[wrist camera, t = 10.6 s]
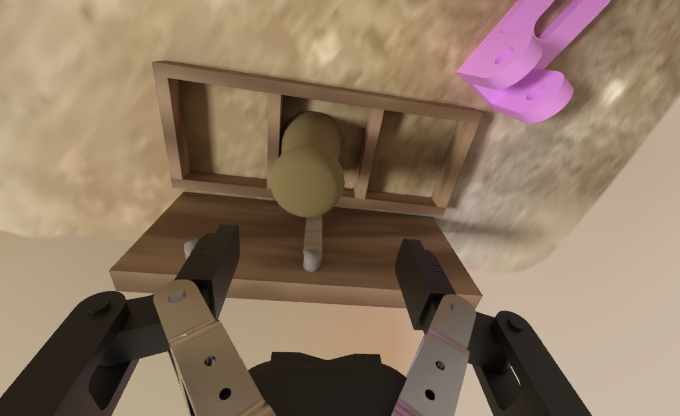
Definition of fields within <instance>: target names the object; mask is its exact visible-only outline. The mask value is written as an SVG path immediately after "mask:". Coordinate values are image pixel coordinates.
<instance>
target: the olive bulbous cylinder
mask: <svg viewBox="0 0 680 416" xmlns="http://www.w3.org/2000/svg"><path fill="white" fill-rule="evenodd" d="M341 148H342V136H341V132H340V130H339V128H338V126H337V124H336V123H335V122H334V121H333V120H332V119H331V118H330V117H328V116H326V115H324V114H322V113H319V112H313V111H309V112H302V113H300V114H298V115H296V116H294V117H292V118H291V120H290V121H289V122H288V123H287V124H286V126H285V128H284V130H283V133H282V155H281V156H280V157H279V158H278V159H277V160H276V162H275V164H274V167H273V169H272V171H271V178H270V185H271V189H272V193H273V196H274V198H275V199H276V201H277V202H278V204H279V205H280V206H281V207H282V208H284V209H285V210H286V211H288V212H289V213H292V214H294V215H297V216H300V217H308V218H309V217H315V216H320V215H322V214H324V213H327V212H329V211H330V210H331V209H332V208H333V207H334V206H336V205H337V203H338V201H339V200H340V198H341V196H342V194H343V189H344V184H345V181H344V174H343V169H342V167H341V165H340V163H339V158H340V153H341Z"/></svg>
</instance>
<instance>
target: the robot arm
mask: <svg viewBox="0 0 680 416" xmlns="http://www.w3.org/2000/svg"><path fill="white" fill-rule="evenodd" d="M239 257H240V239H239V225H238V224H227V223H221V224H220V225H219V227H218V229H217V231H216V233H207V234H206V235H204V236H203V237H201V238H200V239H199V240H198V241H197V243H196V245H195V246H194V249H193V250H192V251H191V253H190V256H188V258H187V260H186V261H185V263H184V265H183V266H182V268H181V270H180V271H179V273H178V275H177V276H176V278H175V280H174V281H171V282H169V283H166V284H164V285H163V286H161V287H160V288H159V289H158V290H157V291H156V293H155V294H153V295H150V296H146V297H140V298H135V299H130V300H126V299H125V296H124V295H123V294H122V293H120V292H116V291H106V292H101V293H97V294H95V295H92V296H90V297H88V298H86V299H85V300H83V301H81V302H80V303H79V304H78V305H77V306H76V307H75V308H74V309H73V311H72V312H71V313H70V314H69V316H68V317H67V318H66V319H65V320H64V321H63V323H62V324H61V325H60V327H59V328H58V329H57V330H56V331H55V332H54V334H53V335H52V336H51V337H50V338H49V340H48V341H47V342H46V343H45V344H44V346H43V347H42V348H41V349H40V350H39V352H38V353H37V354H36V355H35V357H34V358H33V359H32V360H31V362H30V363H29V364H28V365H27V366H26V368H25V369H24V370H23V371H22V372H21V373H20V375H19V376H18V377H17V378H16V380H15V381H14V382H13V383H12V384H11V386H10V387H9V388H8V389H7V391H6V392H5V393H4V394H3V395H2V397H1V398H0V416H111V415H112V413H113V411H114V409H115V407H116V405H117V403H118V401H119V399H120V397H121V395H122V393H123V391H124V389H125V387H126V385H127V383H128V381H129V379H130V377H131V375H132V373H133V371H134V369H135V367H136V365H137V363H138V361H139V359H140V358H143V357H147V356H151V355H155V354H159V353H163V352H167V351H168V354H169V357H170V360H171V362H172V365H173V368H174V371H175V374H176V377H177V379H178V382H179V385H180V387H181V390H182V394H183V397H184V400H185V403H186V406H187V409H188V412H189V415H190V416H454V413H455V410H456V406H457V402H458V398H459V394H460V390H461V386H462V382H463V378H464V374H465V370H466V366H467V363H470V364H472V365H473V368H474V370H475V372H476V375H477V377H478V379H479V382H480V384H481V387H482V389H483V392H484V394H485V396H486V399H487V401H488V404H489V406H490V408H491V411H492V413H493V416H592V415H591V413H590V412H589V411H588V409H587V408H586V406H585V405H584V404H583V402H582V400H581V399H580V397H579V396H578V395H577V393H576V391H575V390H574V389H573V387H572V386H571V384H570V383H569V381H568V380H567V378H566V377H565V375H564V374H563V372H562V371H561V370H560V368H559V367H558V365H557V364H556V362H555V361H554V359H553V358H552V356H551V355H550V353H549V352H548V351H547V349H546V347H545V346H544V345H543V343H542V342H541V340H540V339H539V337H538V336H537V334H536V333H535V331H534V330H533V329H532V327H531V326H530V324H529V323H528V322H527V321H526V320H525V319H523V318H522V317H521V316H519V315H517V314H515V313H513V312H510V311H500V312H499V313H498V314H497V315H496V317H495V318H494V317H491V316H488V315H484V314H481V313H479V312H476V311H475V309H474V307H473V306H472V304H471V303H470V302H468V301H467V300H466V299H464V298H463V297H460V296H458V295H457V294H456V293H455V291H454V289H453V287H452V285H451V283H450V281H449V280H448V278H447V276H446V274H445V273H444V270H443V269H442V267H441V265H440V263H439V261H438V259H437V257H435V256H434V255H433V254H432V253H431V252H430V251H429V250H425V249H424V247H423V245H422V243H421V241H420V240H418V239H406V238H404V239H403V241H402V243H401V246H400V249H399V252H398V255H397V258H396V262H395V274H396V277H397V280H398V283H399V286H400V289H401V292H402V295H403V298H404V301H405V304H406V307H407V310H408V313H409V316H410V319H411V322H412V326H413V328H414V330H423V331H424V334H425V336H424V337H423V340H422V342H421V344H420V346H419V348H418V351H417V353H416V355H415V358H414V360H413V362H412V364H411V367H410V369H409V371H408V373H407V375H406V377H405V376H404V375H402V374H401V373H400V372H398V371H397V370H395V369H393V368H392V367H390V366H387V365H385V364H382V363H381V358H380V354H352V355H348V356H344V357H339V358H335V359H332V360H324V359H320V358H317V357H314V356H310V355H307V354H303V353H300V352H298V353H297V352H272V355H271V361H268V362H264V363H262V364H259V365H257V366H255V367H253V368H251V369H249V370H247V368H246V367H245V365H244V363H243V361H242V359H241V358H240V356H239V354H238V352H237V350H236V348H235V347H234V345H233V343H232V341H231V339H230V338H229V336H228V334H227V332H226V330H225V328H224V327H223V325H222V323H221V322H220V321H219V320H218V317H219V315H220V312H221V309H222V306H223V303H224V301H225V298H226V295H227V293H228V290H229V287H230V284H231V281H232V279H233V276H234V273H235V270H236V268H237V265H238V262H239ZM511 366H512V368H513V370H514V372H515V373H516V375H517V377H518V379H519V382H520V384H519V382H518V380H517V379H516V377H515V375H514V373H513V371H512V369H511ZM520 385H521V386H520Z"/></svg>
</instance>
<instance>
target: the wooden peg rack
mask: <svg viewBox="0 0 680 416" xmlns="http://www.w3.org/2000/svg"><path fill="white" fill-rule="evenodd" d="M152 66H153V72H154V78H155V84H156V90H157V96H158V102H159V108H160V114H161V120H162V126H163V132H164V138H165V144H166V150H167V156H168V162H169V168H170V174H171V180H172V186H173V188H181V189H191V190H201V191H210V192H220V193H230V194H239V195H249V196H259V197H268V198H274V196H273V193H272V189H271V185H270V178H271V171H272V169H273V167H274V164H275V162H276V160H277V159H278V158H279V157H280V156H281V141H282V119H283V97H284V95H287V96H294V97H300V98H307V99H314V100H321V101H327V102H334V103H341V104H348V105H355V106H361V107H368V108H369V111H368V117H367V122H366V127H365V132H364V137H363V142H362V148H361V153H360V158H359V163H358V168H357V174H356V179H355V184H354V189H345V188H344V189H343V194H342V196H341V198H340V200H339V201H338V203H337V205H346V206H355V207H365V208H375V209H385V210H394V211H404V212H414V213H423V214H433V215H443V214H444V212H445V209H446V207H447V204H448V202H449V199H450V196H451V194H452V191H453V189H454V186H455V184H456V181H457V179H458V176H459V173H460V171H461V168H462V166H463V163H464V161H465V158H466V156H467V153H468V150H469V148H470V145H471V143H472V140H473V138H474V135H475V133H476V130H477V127H478V125H479V122H480V120H481V117H482V115H483V112H480V111H478V110H475V109H473V108H467V107H461V106H454V105H448V104H441V103H435V102H428V101H422V100H415V99H409V98H402V97H396V96H389V95H383V94H376V93H370V92H364V91H357V90H351V89H344V88H338V87H331V86H325V85H318V84H312V83H305V82H299V81H292V80H286V79H280V78H273V77H267V76H260V75H254V74H247V73H241V72H234V71H228V70H221V69H215V68H208V67H202V66H196V65H189V64H183V63H176V62H170V61H156V62H152ZM179 80H185V81H192V82H199V83H206V84H213V85H219V86H226V87H233V88H240V89H246V90H253V91H260V92H267V93H269V108H268V157H267V180H264V179H255V178H246V177H237V176H228V175H219V174H210V173H201V172H192V171H191V170H190V162H189V154H188V146H187V138H186V130H185V122H184V114H183V107H182V99H181V91H180V83H179ZM384 110H388V111H395V112H402V113H409V114H415V115H422V116H429V117H436V118H442V119H449V120H456V121H458V123H457V126H456V129H455V132H454V135H453V137H452V140H451V143H450V146H449V149H448V152H447V154H446V157H445V160H444V163H443V166H442V169H441V171H440V174H439V177H438V180H437V183H436V186H435V188H434V191H433V194H432V197H431V198H427V197H418V196H409V195H399V194H390V193H381V192H372V191H367V186H368V182H369V177H370V173H371V168H372V164H373V159H374V154H375V150H376V145H377V141H378V136H379V132H380V127H381V122H382V118H383V113H384ZM221 223H227V224H238V225H239V239H240V257H239V262H238V265H237V268H236V270H235V273H234V276H233V279H232V281H231V284H230V287H229V290H228V293H227V295H226V298H242V299H259V300H275V301H276V300H277V301H291V302H309V303H325V304H342V305H359V306H375V307H392V308H407V307H406V304H405V301H404V298H403V295H402V292H401V289H400V286H399V283H398V280H397V277H396V274H395V262H396V258H397V255H398V252H399V249H400V246H401V243H402V241H403V239H404V238H406V239H418V240H420V241H421V243H422V245H423V247H424V249H425V250H429V251H430V252H431V253H432V254H433V255H434V256H435V257H437V259H438V261H439V263H440V265H441V267H442V269H443V270H444V273H445V274H446V276H447V278H448V280H449V281H450V283H451V285H452V287H453V289H454V291H455V293H456V294H457V295H458V296H460V297H463V298H464V299H466V300H467V301H468V302H470V303H471V304H472V306H473V307H474V309H475V308H476V307H477V305H478V303H479V302H480V300H481V298H482V296H483V295H482V294H481V292H480V291H479V289H478V288H477V286H476V284H475V283H474V282H473V280H472V279H471V277H470V275H469V274H468V272H467V270H466V269H465V267H464V266H463V264H462V263H461V261H460V259H459V258H458V256H457V255H456V253H455V252H454V250H453V248H452V247H451V245H450V244H449V242H448V241H447V239H446V238H445V236H444V234H443V233H442V231H441V230H440V228H439V227H438V225H437V223H436V222H435V220H434V219H433V217H424V216H415V215H405V214H395V213H385V212H375V211H366V210H356V209H346V208H336V207H333V208H332V209H331V210H330V211H329V212H327V213H324V214H322V215H320V216H315V217H309V218H308V217H300V216H297V215H294V214H292V213H289V212H288V211H286V210H285V209H284V208H282V207H281V206H280V205H279V204H278V202H277V201H268V200H258V199H248V198H238V197H228V196H219V195H209V194H199V193H189V192H183V193H182V194H181V195H180V196H179V197H178V198H177V199H176V200H175V201H174V203H173V204H172V205H171V206H170V207H169V208H168V209H167V210H166V211H165V212H164V213H163V214H162V215H161V216H160V217H159V218H158V219H157V220H156V222H155V223H154V224H153V225H152V226H151V227H150V228H149V229H148V230H147V231H146V232H145V233H144V234H143V235H142V236H141V237H140V238H139V239H138V241H137V242H136V243H135V244H134V245H133V246H132V247H131V248H130V249H129V250H128V251H127V252H126V253H125V254H124V255H123V256H122V257H121V258H120V260H119V261H118V262H117V263H116V264H115V265H114V266H113V267H112V268H111V269H110V270H109V272H110V275H111V278H112V280H113V283H114V286H115V289H116V291H125V292H140V293H156V291H157V290H158V289H159V288H160V287H161V286H163V285H164V284H166V283H169V282H171V281H174V280H175V278H176V276H177V275H178V273H179V271H180V270H181V268H182V266H183V265H184V263H185V261H186V260H187V258H188V256H190V253H191V251H192V250H193V249H194V246H195V245H196V243H197V241H198V240H199V239H200V238H201V237H203V236H204V235H206V234H207V233H216V231H217V229H218V227H219V225H220V224H221Z"/></svg>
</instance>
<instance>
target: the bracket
mask: <svg viewBox="0 0 680 416" xmlns="http://www.w3.org/2000/svg"><path fill="white" fill-rule="evenodd" d="M554 1H555V0H518V1H517V2H516V3H515V4H514V5H513V6H512V8H511V9H510V10H509V11H508V12H507V13H506V15H505V16H504V17H503V18H502V19H501V20H500V22H499V23H498V24H497V25H496V26H495V27H494V29H493V30H492V31H491V32H490V33H489V34H488V36H487V37H486V38H485V39H484V40H483V41H482V43H481V44H480V45H479V46H478V47H477V48H476V50H475V51H474V52H473V53H472V54H471V55H470V57H469V58H468V59H467V60H466V61H465V62H464V64H463V65H462V66H461V67H460V68H459V69H458V71H457V72H456V73H457V74H458V75H459V76H460V77H461V78H462V79H463V80H464V81H465V82H466V83H467V84H468V85H469V86H470V87H471V88H472V89H473V90H474V91H475V92H476V93H477V94H478V95H479V96H480V97H481V98H482V99H483V100H484V101H485V102H486V103H487V104H488V105H489V106H490V107H491V108H492V110H494V111H496V112H499V113H501V114H504V115H507V116H509V117H512V118H515V119H517V120H520V121H522V122H525V123H538V122H541V121H544V120H546V119H548V118H550V117H552V116H553V115H555V114H556V113H558V112H559V111H560V110H561V109H562V108H564V107H565V106H566V104H567V103H568V102H569V101H570V99H571V97H572V95H573V92H574V89H573V86H572V85H571V84H570V83H569V81H568V80H567V79H566V78H565V76H564V75H563V74H562V73H561V72H559V71H551V70H544V69H545V68H546V67H547V65H548V64H549V63H550V62H551V61H552V60H553V59H554V58H555V57H556V56H557V55H558V54H559V53H560V52H561V51H562V50H563V49H564V48H565V47H566V46H567V45H568V44H569V43H570V42H571V41H572V40H573V39H574V38H575V37H576V36H577V35H578V34H579V33H580V32H581V31H582V30H583V29H584V28H585V27H586V26H587V25H588V24H589V23H590V22H591V21H592V20H593V19H594V18H595V17H596V16H597V15H598V14H599V13H600V12H601V11H602V10H603V9H604V8H605V7H606V6H607V5H608V3H609V2H610V1H611V0H573V1H572V2H571V3H570V4H569V5H568V6H567V7H566V8H565V9H564V11H563V12H562V13H561V14H560V15H559V16H558V17H557V18H556V19H555V20H554V21H553V22H552V23H551V24H550V26H549V27H548V28H547V29H546V30H545V31H544V32H543V33H542V34H541V35H540V36H539V37H536V36H535V34H534V26H535V23H536V21H537V20H538V18H539V17H540V16H541V15H542V14H543V13H544V12H545V10H546V9H547V8H548V7H549V6H550V5H551V4H552V3H553V2H554Z"/></svg>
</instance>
